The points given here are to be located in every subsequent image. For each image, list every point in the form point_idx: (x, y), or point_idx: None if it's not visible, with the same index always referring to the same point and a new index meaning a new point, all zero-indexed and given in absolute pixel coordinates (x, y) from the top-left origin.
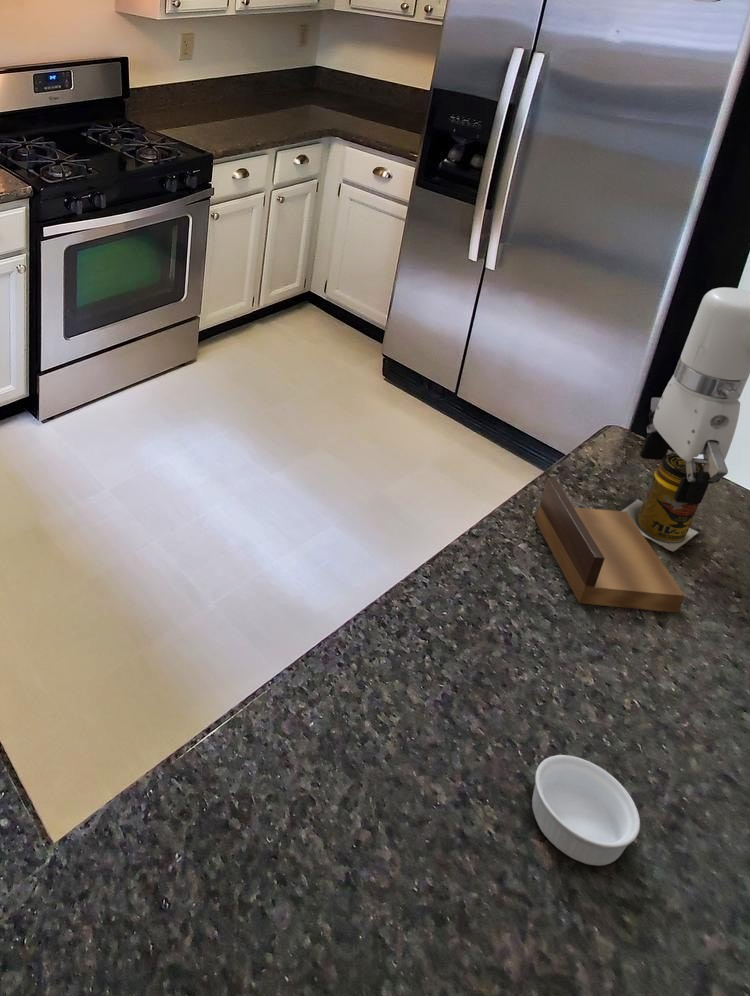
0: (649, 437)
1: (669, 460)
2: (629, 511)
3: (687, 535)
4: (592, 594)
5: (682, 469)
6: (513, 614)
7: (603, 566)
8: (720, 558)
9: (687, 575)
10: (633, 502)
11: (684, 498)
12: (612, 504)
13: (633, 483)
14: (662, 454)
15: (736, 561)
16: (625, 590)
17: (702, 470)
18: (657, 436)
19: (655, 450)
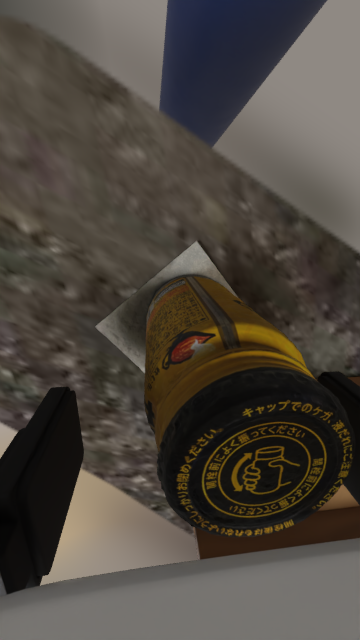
0: (40, 578)
1: (233, 524)
2: (141, 356)
3: (207, 271)
4: None
5: (300, 492)
6: None
7: (342, 484)
8: (271, 233)
9: (313, 324)
10: (108, 338)
11: None
12: (120, 376)
13: (21, 305)
14: (66, 417)
15: (280, 201)
16: None
17: (322, 420)
18: (29, 568)
19: (68, 464)
